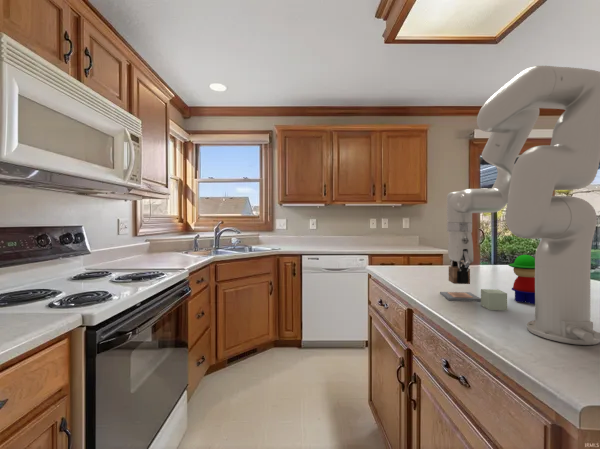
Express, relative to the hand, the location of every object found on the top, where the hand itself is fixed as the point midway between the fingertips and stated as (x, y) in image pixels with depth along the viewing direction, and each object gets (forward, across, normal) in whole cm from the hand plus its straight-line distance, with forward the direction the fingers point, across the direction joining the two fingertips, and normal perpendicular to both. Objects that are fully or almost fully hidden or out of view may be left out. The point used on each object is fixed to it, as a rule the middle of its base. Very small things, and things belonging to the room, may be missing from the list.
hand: (459, 280), depth 102 cm
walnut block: (+1, 0, 0) cm, 1 cm away
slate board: (+6, 0, 0) cm, 6 cm away
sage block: (+6, -11, -6) cm, 14 cm away
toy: (+6, -3, -19) cm, 20 cm away
